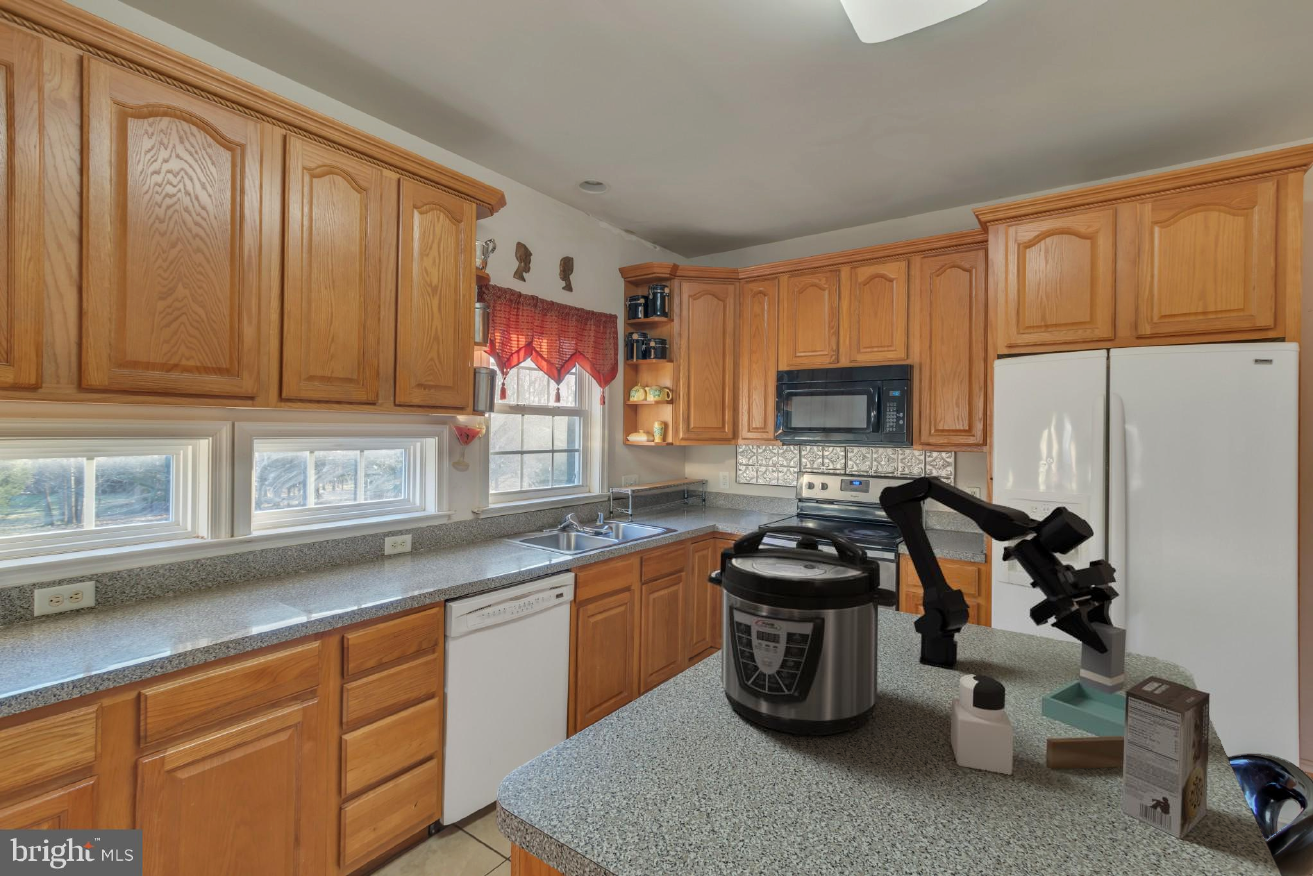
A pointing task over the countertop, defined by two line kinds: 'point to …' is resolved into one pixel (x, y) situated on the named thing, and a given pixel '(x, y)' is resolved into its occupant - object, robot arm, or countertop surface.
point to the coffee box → (1166, 755)
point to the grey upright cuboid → (1104, 660)
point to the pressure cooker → (800, 631)
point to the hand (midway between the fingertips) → (1112, 650)
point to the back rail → (1085, 752)
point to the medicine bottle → (981, 725)
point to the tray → (1087, 709)
